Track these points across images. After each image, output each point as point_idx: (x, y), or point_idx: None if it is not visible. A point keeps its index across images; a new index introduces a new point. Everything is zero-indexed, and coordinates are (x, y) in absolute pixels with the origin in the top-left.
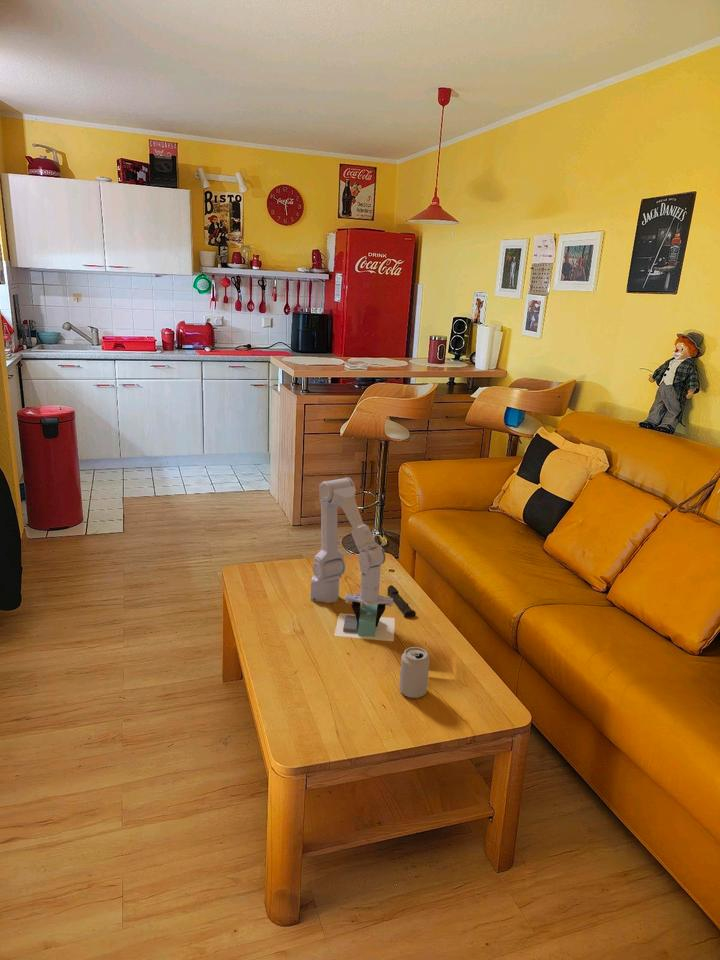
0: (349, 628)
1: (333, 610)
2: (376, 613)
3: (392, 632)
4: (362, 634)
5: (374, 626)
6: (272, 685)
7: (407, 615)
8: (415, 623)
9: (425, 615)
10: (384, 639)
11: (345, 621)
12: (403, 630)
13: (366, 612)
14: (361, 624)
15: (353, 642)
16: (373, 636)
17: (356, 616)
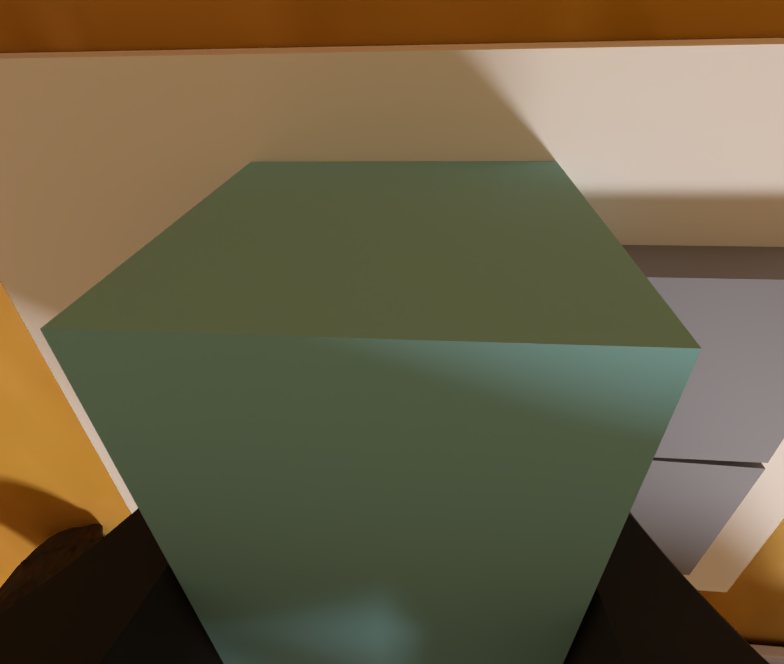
0: (747, 282)
1: (728, 612)
2: (214, 630)
3: (45, 322)
4: (473, 169)
5: (156, 246)
6: None
7: (45, 580)
8: (9, 505)
9: (4, 579)
10: (52, 95)
11: (749, 465)
12: (42, 413)
13: (421, 654)
14: (546, 268)
15: (628, 27)
16: (268, 163)
17: (649, 551)
